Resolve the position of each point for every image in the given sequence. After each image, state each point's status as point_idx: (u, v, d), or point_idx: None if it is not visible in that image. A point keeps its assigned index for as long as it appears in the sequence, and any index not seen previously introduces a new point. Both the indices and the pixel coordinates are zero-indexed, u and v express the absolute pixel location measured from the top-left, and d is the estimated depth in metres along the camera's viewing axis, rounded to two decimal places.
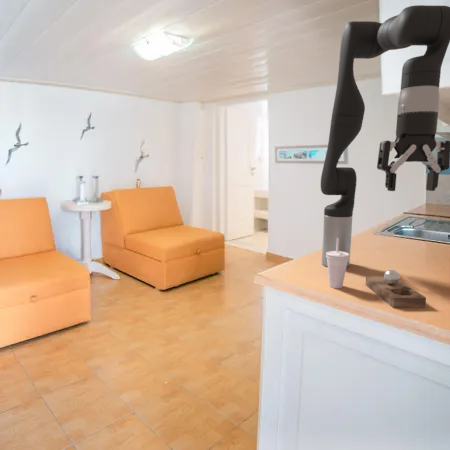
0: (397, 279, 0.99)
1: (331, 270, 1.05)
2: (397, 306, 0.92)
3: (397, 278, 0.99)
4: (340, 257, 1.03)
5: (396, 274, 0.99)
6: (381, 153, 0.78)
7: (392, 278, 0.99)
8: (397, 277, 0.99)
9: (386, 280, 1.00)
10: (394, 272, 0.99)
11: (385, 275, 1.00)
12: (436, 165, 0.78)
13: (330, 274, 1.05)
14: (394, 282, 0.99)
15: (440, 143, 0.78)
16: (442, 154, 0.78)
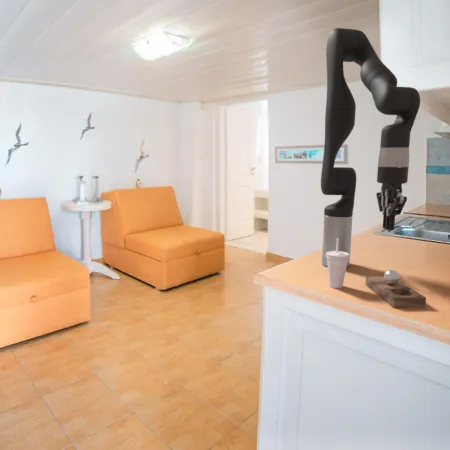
0: (397, 279, 0.99)
1: (331, 270, 1.05)
2: (397, 306, 0.92)
3: (397, 278, 0.99)
4: (340, 257, 1.03)
5: (396, 274, 0.99)
6: (399, 206, 0.96)
7: (392, 278, 0.99)
8: (397, 277, 0.99)
9: (386, 280, 1.00)
10: (394, 272, 0.99)
11: (385, 275, 1.00)
12: None
13: (330, 274, 1.05)
14: (394, 282, 0.99)
15: None
16: None
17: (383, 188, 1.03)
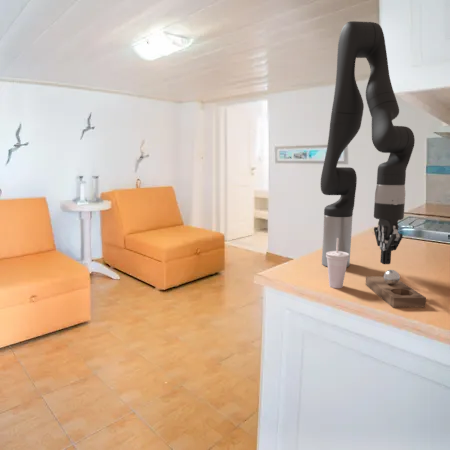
0: (397, 279, 0.99)
1: (331, 270, 1.05)
2: (397, 306, 0.92)
3: (397, 278, 0.99)
4: (340, 257, 1.03)
5: (396, 274, 0.99)
6: (395, 243, 0.98)
7: (392, 278, 0.99)
8: (397, 277, 0.99)
9: (386, 280, 1.00)
10: (394, 272, 0.99)
11: (385, 275, 1.00)
12: None
13: (330, 274, 1.05)
14: (394, 282, 0.99)
15: None
16: None
17: (380, 223, 1.04)
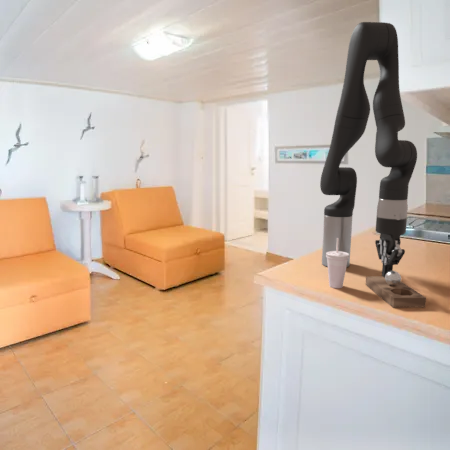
0: (398, 280, 0.98)
1: (331, 270, 1.05)
2: (397, 306, 0.92)
3: (398, 279, 0.98)
4: (340, 257, 1.03)
5: (397, 275, 0.98)
6: (397, 258, 0.98)
7: (393, 279, 0.98)
8: (398, 278, 0.98)
9: (387, 281, 0.99)
10: (395, 273, 0.99)
11: (386, 276, 1.00)
12: None
13: (330, 274, 1.05)
14: (395, 283, 0.98)
15: None
16: None
17: (382, 236, 1.04)
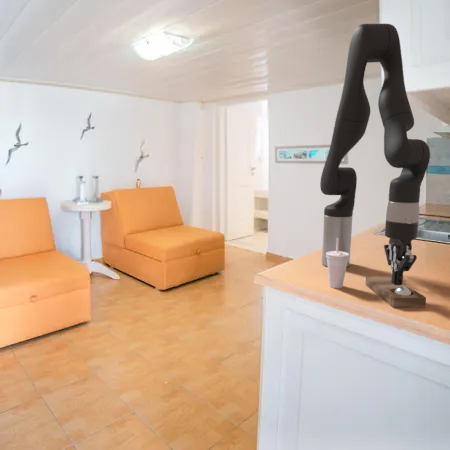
0: None
1: (331, 270, 1.05)
2: (397, 306, 0.92)
3: None
4: (340, 257, 1.03)
5: None
6: (408, 264, 0.92)
7: None
8: None
9: None
10: None
11: None
12: None
13: (330, 274, 1.05)
14: None
15: None
16: None
17: (391, 241, 0.98)
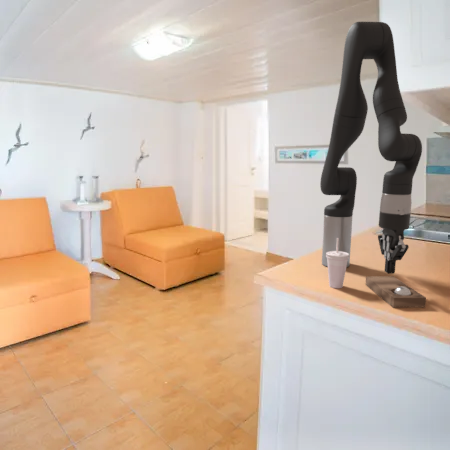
0: None
1: (331, 270, 1.05)
2: (397, 306, 0.92)
3: None
4: (340, 257, 1.03)
5: None
6: (401, 253, 0.97)
7: None
8: None
9: None
10: None
11: None
12: None
13: (330, 274, 1.05)
14: None
15: None
16: None
17: (385, 231, 1.03)
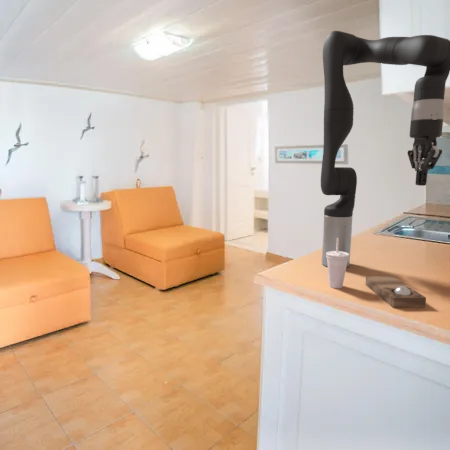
0: None
1: (331, 270, 1.05)
2: (397, 306, 0.92)
3: None
4: (340, 257, 1.03)
5: None
6: (433, 159, 0.95)
7: None
8: None
9: None
10: None
11: None
12: None
13: (330, 274, 1.05)
14: None
15: None
16: None
17: (415, 143, 1.01)
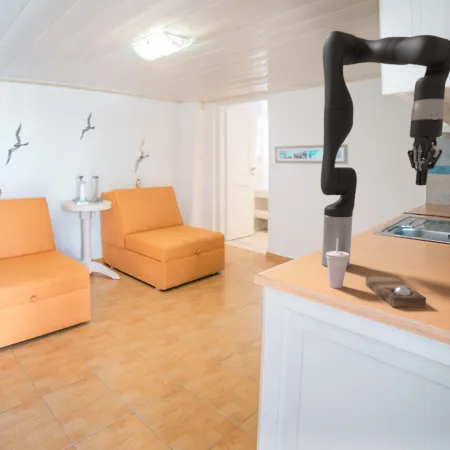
0: None
1: (331, 270, 1.05)
2: (397, 306, 0.92)
3: None
4: (340, 257, 1.03)
5: None
6: (434, 159, 0.95)
7: None
8: None
9: None
10: None
11: None
12: None
13: (330, 274, 1.05)
14: None
15: None
16: None
17: (415, 143, 1.01)
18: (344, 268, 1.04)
